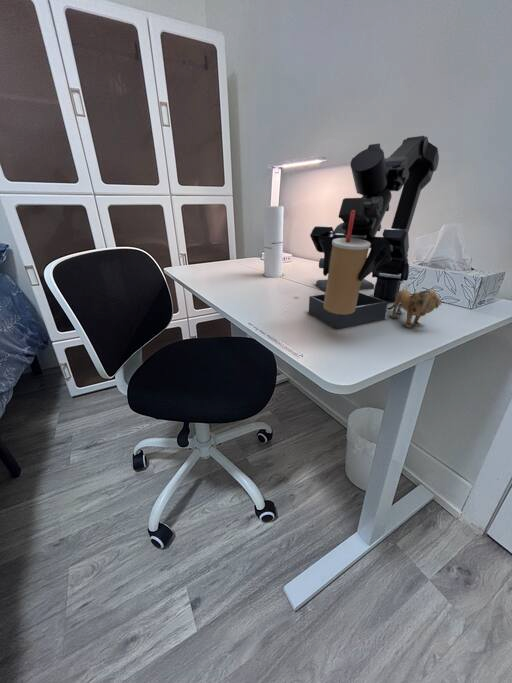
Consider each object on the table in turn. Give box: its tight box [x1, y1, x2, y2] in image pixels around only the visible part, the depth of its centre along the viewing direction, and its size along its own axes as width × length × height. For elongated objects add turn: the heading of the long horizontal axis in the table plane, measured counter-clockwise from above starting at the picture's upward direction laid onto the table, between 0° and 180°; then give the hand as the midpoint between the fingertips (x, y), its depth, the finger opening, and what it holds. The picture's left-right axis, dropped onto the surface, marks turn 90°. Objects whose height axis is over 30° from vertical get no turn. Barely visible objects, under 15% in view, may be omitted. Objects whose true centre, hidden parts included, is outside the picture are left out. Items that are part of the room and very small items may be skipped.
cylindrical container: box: [263, 205, 285, 278], centre depth 111 cm, size 7×7×25 cm
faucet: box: [315, 222, 375, 292], centre depth 98 cm, size 18×16×20 cm
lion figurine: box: [386, 289, 443, 328], centre depth 68 cm, size 15×5×9 cm, turn 13°
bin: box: [308, 291, 389, 330], centre depth 73 cm, size 14×12×4 cm
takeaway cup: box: [324, 210, 371, 315], centre depth 57 cm, size 7×7×19 cm
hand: (341, 277), depth 57 cm, fingers closed on takeaway cup, 7 cm apart
